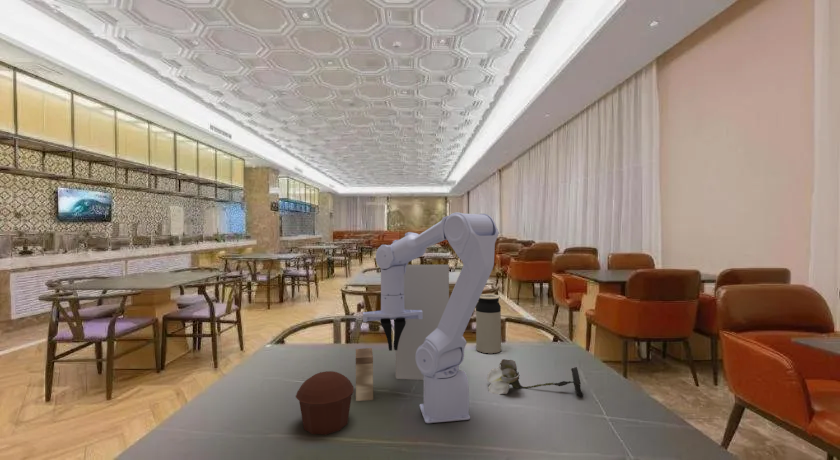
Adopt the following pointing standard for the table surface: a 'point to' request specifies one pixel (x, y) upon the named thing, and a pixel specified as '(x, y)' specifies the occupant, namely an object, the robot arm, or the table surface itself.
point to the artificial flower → (509, 376)
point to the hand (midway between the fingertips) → (392, 349)
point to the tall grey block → (430, 295)
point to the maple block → (364, 374)
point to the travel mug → (488, 324)
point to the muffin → (325, 402)
